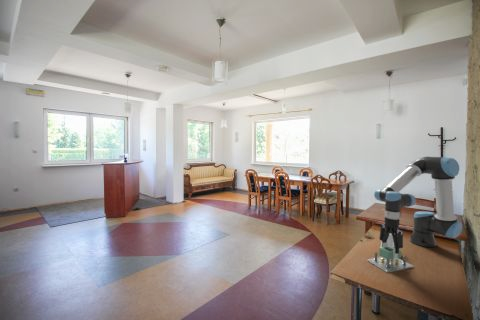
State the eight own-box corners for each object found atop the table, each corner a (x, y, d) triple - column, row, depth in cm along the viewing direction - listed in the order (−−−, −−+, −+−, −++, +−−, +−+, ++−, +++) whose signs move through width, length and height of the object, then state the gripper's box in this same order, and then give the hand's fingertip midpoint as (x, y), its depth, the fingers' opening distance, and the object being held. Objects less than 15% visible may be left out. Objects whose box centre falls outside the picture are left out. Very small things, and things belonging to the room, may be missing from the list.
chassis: (391, 256, 151) (392, 247, 150) (413, 267, 137) (414, 257, 137) (367, 260, 145) (367, 251, 144) (387, 272, 131) (387, 262, 131)
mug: (391, 255, 153) (392, 237, 152) (377, 250, 159) (377, 233, 158) (396, 249, 161) (397, 232, 160) (382, 245, 167) (383, 229, 166)
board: (391, 253, 145) (392, 245, 145) (400, 257, 139) (401, 249, 139) (379, 255, 142) (379, 247, 142) (388, 259, 136) (388, 251, 136)
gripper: (373, 213, 147) (371, 249, 149) (402, 223, 129) (400, 264, 130) (383, 212, 149) (381, 248, 151) (412, 222, 131) (410, 262, 133)
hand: (390, 255), depth 141 cm, fingers closed on board, 6 cm apart
